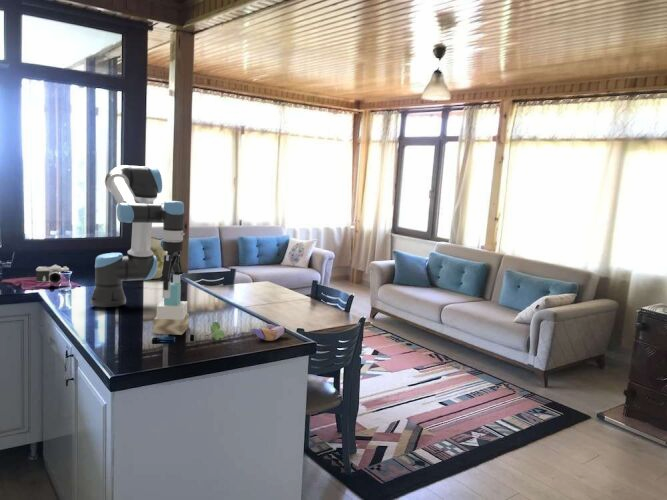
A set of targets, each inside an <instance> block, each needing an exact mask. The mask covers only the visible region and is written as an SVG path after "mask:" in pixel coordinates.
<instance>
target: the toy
mask: <svg viewBox="0 0 667 500" xmlns="http://www.w3.org/2000/svg"><path fill="white" fill-rule="evenodd" d="M266 326H267V327H260V328H253V327H251V328H250V331H252V332H253V333H255V335H256V336H257V337H258V338H259V339H261V340H263V341H268V342H269V341H270V342H271V341H272V342H273V341H275V340H278V339H279V338H280V337H281V336H283V335H284V334H285V333H286V332H287V329H286V328H285V326H284V325H278V326H276V325H274V324H272V323H271V324H270V323H269V324H266Z"/></svg>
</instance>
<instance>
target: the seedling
mask: <svg viewBox="0 0 667 500" xmlns="http://www.w3.org/2000/svg"><path fill="white" fill-rule="evenodd" d="M209 330H210V334H206V335H204V337H208V336H211V335H212V337H213V339H215V340H216V341H219V340H220V339H223V338H225V335H226V333H225V332H224V330H222V329H221V325H220V324H219V322H218V321H214V322H213V323H212V325H210V329H209Z"/></svg>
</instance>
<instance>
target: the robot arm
mask: <svg viewBox="0 0 667 500" xmlns="http://www.w3.org/2000/svg"><path fill="white" fill-rule="evenodd" d="M104 183H105V187H106V190H107V191H108V192H110V193H111V194H112V196H113V198H114V199H115V202H116V203H117V207H116V217H117V220H118V222H120V223H127V224H131V223H132V227H131V228H132V229H131V243H130V244H131V246H130V249H128V250H127V254H126V255H123V253H121V252H110V253H109V252H108V253H102V254H99V255H97V256H96V257H95V260H94V261H95V264H94V270H95V271H94V273H95V274H94V275H95V276H94V289H93V292H92V295H91V298H90V306H91V305H92V306H94V307H98V308H113V307H119V306H123V305H125V304H126V303H127V297H126V295H125V292H124V288H123V281H124V282H125V281H127V282H128V281H145V280H153V279H152V278H153V277H154V275H155V273H156V269H157V258H156V256H154V255H153V252H152V251H151V249H150V247H151V237H152V232H153V231H152V228H153V224H163V226H162V227H163V229H162V231H163V232H162V238H163V240H162V241H163V242H162V248H163V250H164V251H166V252H167V255H165V256H164V264H163V270H162V275H161V277H160V278H159V279H160V282H162V296H161V297H162V299H164V298H170V285H171V283H181V276H182V275H183V267H182V266H183V265H182V258H181V252H182V251H183V250H184V242H183V240H184V236H185V232H184V226H185V225H184V219H185V217H184V216H185V204H184V202H183V201H178V200H165V201H164V203H154V201H155V200H156V199H157V198H158V194H161V193H162V190H163V179H162V175H161V172H160V170H159V169H158V168H157V167H154V166H145V165H144V166H143V165H142V166H139V165H127V164H123V165H118V166H116V167H114V168H112V169H110V170H109V171H108V173H107V174H106V176H105V179H104ZM172 272H173V275H172ZM171 277H172V282H171Z"/></svg>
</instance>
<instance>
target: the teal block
mask: <svg viewBox="0 0 667 500" xmlns="http://www.w3.org/2000/svg"><path fill="white" fill-rule="evenodd" d="M181 292H182V283H181V282H180V283H173V282H171V285H170V298H163V301H164V305H173V306H177V305H178V304H180V301H181V295H182V294H181Z"/></svg>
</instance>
